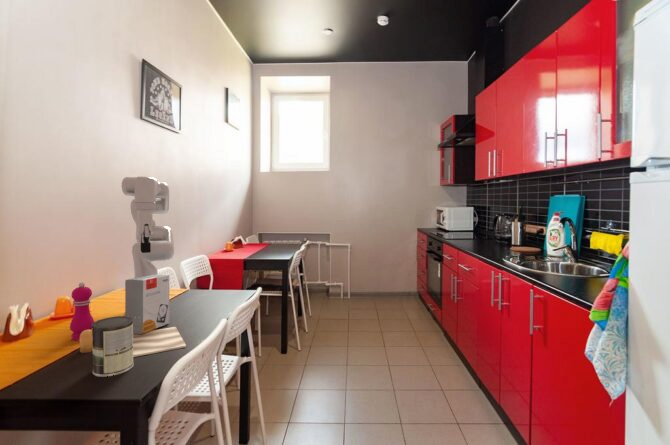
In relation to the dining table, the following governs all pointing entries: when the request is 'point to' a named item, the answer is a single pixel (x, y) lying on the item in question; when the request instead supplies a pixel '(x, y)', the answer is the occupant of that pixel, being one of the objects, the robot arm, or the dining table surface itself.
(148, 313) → the hard drive box
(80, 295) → the pepper mill
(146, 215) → the robot arm
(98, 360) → the coffee can
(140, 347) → the board
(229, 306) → the dining table surface
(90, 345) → the salt shaker
